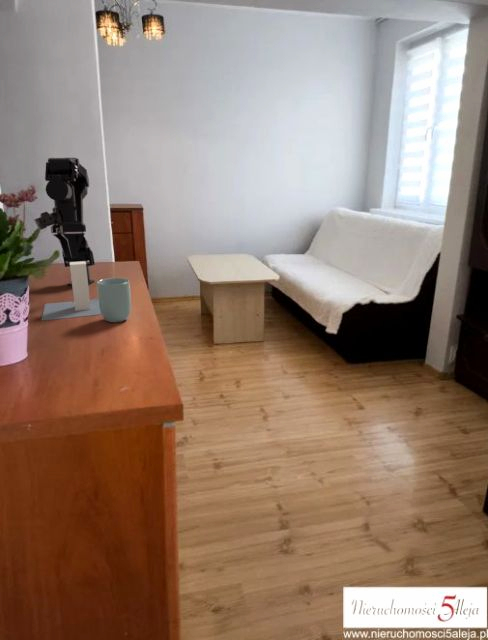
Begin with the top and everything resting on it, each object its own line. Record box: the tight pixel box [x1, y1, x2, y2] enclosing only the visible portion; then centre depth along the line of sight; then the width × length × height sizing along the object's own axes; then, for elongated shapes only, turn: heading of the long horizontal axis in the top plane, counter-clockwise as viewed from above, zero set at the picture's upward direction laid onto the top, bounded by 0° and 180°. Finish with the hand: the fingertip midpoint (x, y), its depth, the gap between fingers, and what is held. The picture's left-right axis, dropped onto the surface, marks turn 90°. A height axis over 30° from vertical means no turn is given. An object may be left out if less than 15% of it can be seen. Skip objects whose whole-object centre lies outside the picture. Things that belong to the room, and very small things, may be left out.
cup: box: [96, 277, 132, 323], centre depth 113 cm, size 8×8×10 cm
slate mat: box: [40, 298, 102, 322], centre depth 125 cm, size 16×20×1 cm
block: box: [69, 261, 91, 311], centre depth 123 cm, size 4×4×12 cm
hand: (70, 257), depth 135 cm, fingers open, 9 cm apart
